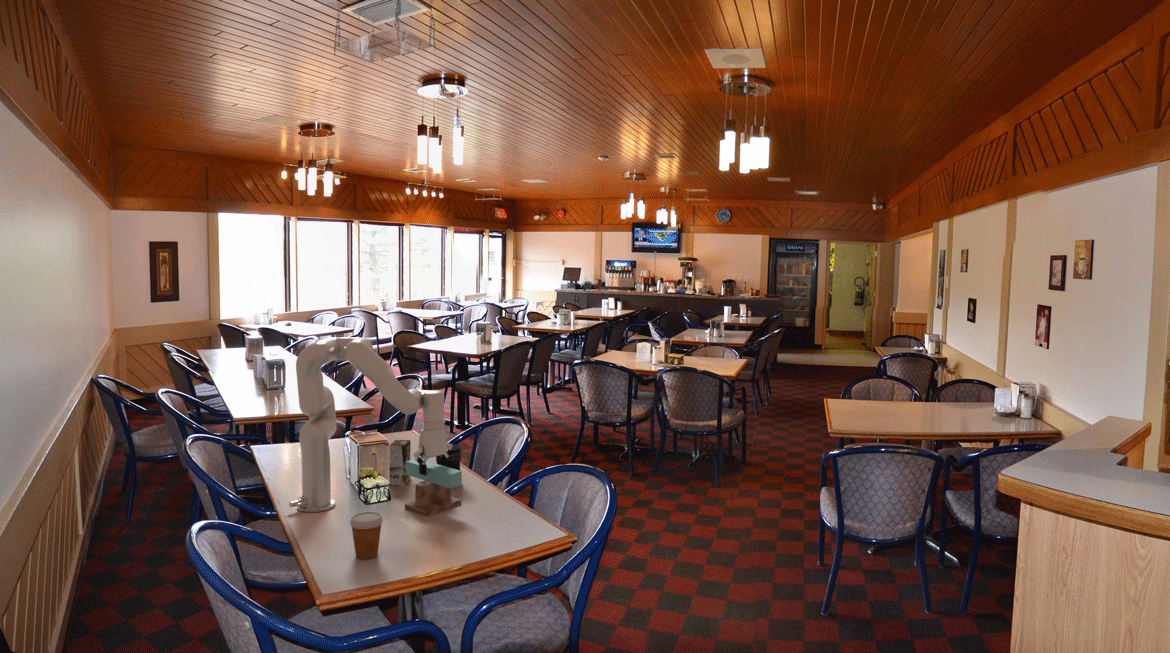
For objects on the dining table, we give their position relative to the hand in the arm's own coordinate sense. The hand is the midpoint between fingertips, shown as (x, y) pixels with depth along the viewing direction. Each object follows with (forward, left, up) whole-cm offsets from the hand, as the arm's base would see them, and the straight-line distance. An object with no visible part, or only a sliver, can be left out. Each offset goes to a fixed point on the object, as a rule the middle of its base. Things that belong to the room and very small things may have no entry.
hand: (433, 471), depth 252 cm
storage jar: (+21, +15, -13) cm, 29 cm away
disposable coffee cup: (-41, -17, -13) cm, 46 cm away
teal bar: (0, 0, -3) cm, 3 cm away
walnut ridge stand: (0, 0, -13) cm, 13 cm away
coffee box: (+10, +31, -13) cm, 35 cm away
